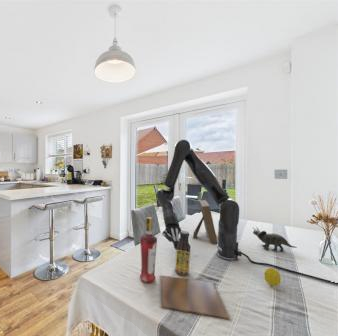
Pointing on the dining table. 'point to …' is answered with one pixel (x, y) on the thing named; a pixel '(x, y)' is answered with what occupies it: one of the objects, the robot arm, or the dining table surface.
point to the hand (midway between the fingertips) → (177, 249)
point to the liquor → (148, 253)
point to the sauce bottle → (183, 254)
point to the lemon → (272, 276)
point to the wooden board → (192, 297)
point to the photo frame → (206, 222)
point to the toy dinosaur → (271, 240)
